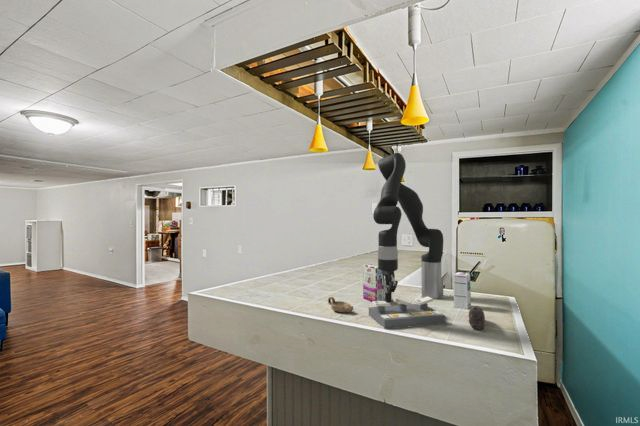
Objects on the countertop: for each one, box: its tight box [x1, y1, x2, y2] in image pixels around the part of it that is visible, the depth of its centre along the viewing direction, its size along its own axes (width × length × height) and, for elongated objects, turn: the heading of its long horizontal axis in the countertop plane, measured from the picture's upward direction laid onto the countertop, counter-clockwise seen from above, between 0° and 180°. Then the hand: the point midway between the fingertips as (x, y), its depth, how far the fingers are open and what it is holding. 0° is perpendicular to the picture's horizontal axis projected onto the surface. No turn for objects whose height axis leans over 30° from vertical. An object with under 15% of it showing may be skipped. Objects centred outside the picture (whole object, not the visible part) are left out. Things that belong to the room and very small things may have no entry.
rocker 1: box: [371, 300, 392, 307], centre depth 124 cm, size 6×4×1 cm, turn 102°
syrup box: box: [452, 271, 472, 310], centre depth 140 cm, size 6×6×14 cm
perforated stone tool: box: [468, 305, 486, 330], centre depth 117 cm, size 15×5×7 cm, turn 154°
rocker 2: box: [414, 296, 434, 305], centre depth 128 cm, size 6×4×1 cm, turn 102°
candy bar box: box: [362, 263, 385, 303], centre depth 151 cm, size 11×5×16 cm, turn 25°
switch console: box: [368, 303, 446, 329], centre depth 124 cm, size 24×16×5 cm, turn 102°
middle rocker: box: [393, 298, 413, 306], centre depth 126 cm, size 6×4×1 cm, turn 102°
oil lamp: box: [327, 296, 354, 313], centre depth 135 cm, size 13×8×5 cm, turn 42°
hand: (388, 301), depth 125 cm, fingers closed
